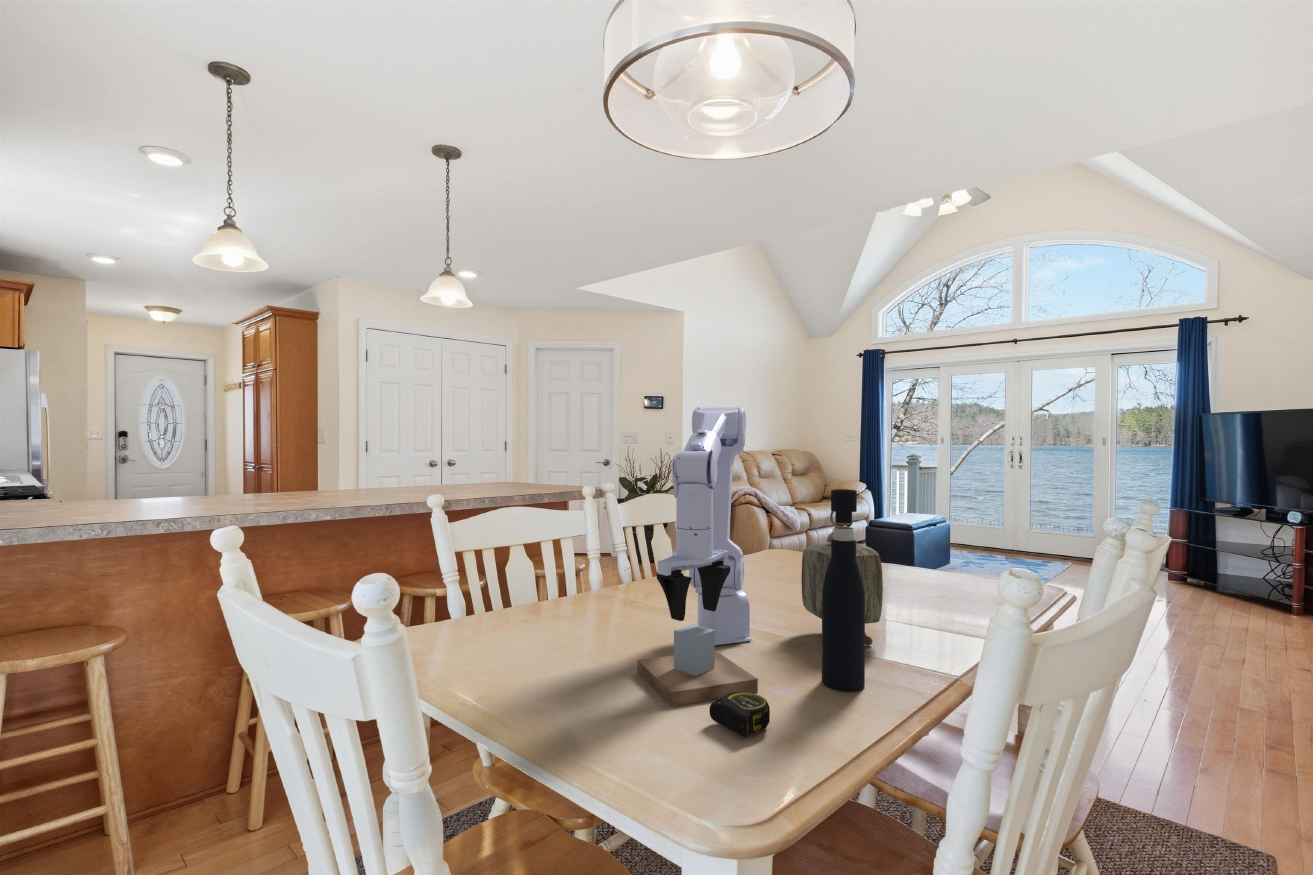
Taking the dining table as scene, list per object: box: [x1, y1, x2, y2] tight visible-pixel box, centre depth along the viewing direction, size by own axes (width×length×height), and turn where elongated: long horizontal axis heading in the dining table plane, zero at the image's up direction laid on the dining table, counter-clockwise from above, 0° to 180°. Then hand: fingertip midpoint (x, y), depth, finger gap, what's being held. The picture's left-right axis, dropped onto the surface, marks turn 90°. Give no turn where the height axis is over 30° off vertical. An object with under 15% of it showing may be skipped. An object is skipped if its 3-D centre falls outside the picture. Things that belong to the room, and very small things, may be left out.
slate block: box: [673, 624, 716, 676], centre depth 98 cm, size 4×4×6 cm
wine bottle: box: [821, 488, 866, 693], centre depth 98 cm, size 6×6×30 cm
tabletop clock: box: [800, 510, 884, 646], centre depth 121 cm, size 14×9×25 cm, turn 17°
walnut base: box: [636, 649, 759, 707], centre depth 98 cm, size 14×14×2 cm
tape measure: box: [709, 692, 771, 738], centre depth 83 cm, size 7×7×4 cm
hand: (694, 614), depth 99 cm, fingers open, 7 cm apart
